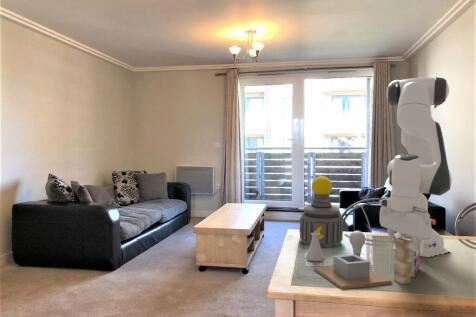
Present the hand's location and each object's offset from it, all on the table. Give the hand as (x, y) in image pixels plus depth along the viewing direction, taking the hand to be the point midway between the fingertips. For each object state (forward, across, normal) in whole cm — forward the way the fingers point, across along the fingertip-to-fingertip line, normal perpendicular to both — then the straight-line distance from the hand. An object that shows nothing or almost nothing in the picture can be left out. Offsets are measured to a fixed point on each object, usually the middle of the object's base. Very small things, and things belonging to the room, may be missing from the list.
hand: (402, 246), depth 122 cm
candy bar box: (+12, +7, -10) cm, 17 cm away
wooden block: (+12, 0, 0) cm, 12 cm away
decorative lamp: (+12, +49, +2) cm, 51 cm away
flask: (+12, +28, +16) cm, 35 cm away
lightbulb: (+12, +24, 0) cm, 27 cm away
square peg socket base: (+12, +8, +14) cm, 20 cm away
